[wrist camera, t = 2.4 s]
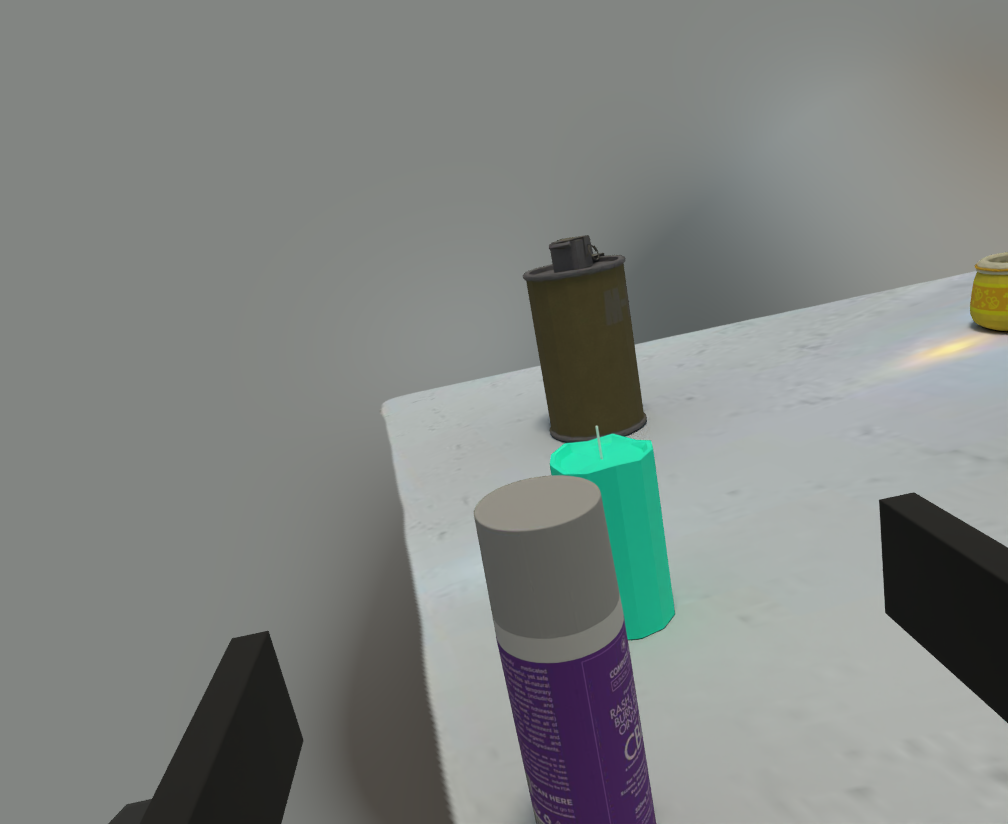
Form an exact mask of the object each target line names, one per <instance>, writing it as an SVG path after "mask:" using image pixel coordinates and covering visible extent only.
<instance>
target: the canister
mask: <svg viewBox="0 0 1008 824" xmlns="http://www.w3.org/2000/svg"><path fill="white" fill-rule="evenodd" d="M591 246H592V245H591V243H590V238H589V236H588V235H585V236H579V237H572V238H566V239H560V240H557V241H556V242H553V243H551V244H550V245H549V249H550V251H551V257H552V263H553V264H552V265H547V266H543V267H539V268H536V269H533V270H530V271H528V272H525V273H524V275H523V278H524V279H525V280H526V281H527V288H528V294H529V300H530V305H531V311H532V317H533V323H534V329H535V335H536V340H537V346H538V352H539V358H540V363H541V370H542V376H543V382H544V387H545V393H546V399H547V405H548V411H549V417H550V423H551V428H550V433H551V435H552V437H554V438H556V439H558V440H560V441H565V442H572V443H573V442H583V441H589V440H593V439H596V438H597V433H596V427H595V426H598V430H599V436H600V437H603V436H606V435H609V434H616V435H620V436H626V435H628V434H630V433H632V432H634V431H636V430H638V429H640V428H641V427H642V426H643V425H644V424H645V423H646V420H647V417H646V414H645V413H644V412H643V405H642V398H641V390H640V383H639V375H638V368H637V361H636V353H635V346H634V338H633V331H632V324H631V316H630V309H629V301H628V294H627V286H626V280H625V272H624V264H623V263H624V262H625V257H624V256H622V255H607V256H604V253H598V250H597V249H596V247H595V246H592V247H593V248H594V249H595V251H597V254H593V252H592V247H591Z"/></svg>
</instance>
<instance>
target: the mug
mask: <svg viewBox="0 0 1008 824" xmlns="http://www.w3.org/2000/svg"><path fill="white" fill-rule="evenodd" d="M975 268H976V271H977V273H976V276H975V279H974V282H973V288H972V295H971V302H970V314H971V316H972V319H973V321H974V322H975V323H977V324H978V325H980V326H982V327H985V328H988V329H994V330H999V331H1008V252H1005V253H999V254H994V255H991V256H987V257H985V258H983V259H981V260H980V261H979V262H978V263H977V264H976V265H975Z"/></svg>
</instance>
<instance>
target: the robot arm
mask: <svg viewBox="0 0 1008 824" xmlns="http://www.w3.org/2000/svg"><path fill="white" fill-rule="evenodd" d="M879 505H880V523H881V542H882V560H883V578H884V597H885V613H886V614H887V615H888V616H889V617H890V618H892V619H893V620H894V621H895V622H896V623H897V624H898V625H899V626H900V627H902V628H903V629H904V630H905V631H906V632H907V633H908V634H909V635H911V636H912V637H913V638H914V639H915V640H916V641H917V642H918V643H919V644H921V645H922V646H923V647H924V648H925V649H926V650H927V651H928V652H929V653H931V654H932V655H933V656H934V657H935V658H936V659H937V660H938V661H939V662H941V663H942V664H943V665H944V666H945V667H946V668H947V669H948V670H949V671H951V672H952V673H953V674H954V675H955V676H956V677H957V678H958V679H959V680H961V681H962V682H963V683H964V684H965V685H966V686H967V687H968V688H969V689H971V690H972V691H973V692H974V693H975V694H976V695H977V696H978V697H979V698H981V699H982V700H983V701H984V702H985V703H986V704H987V705H988V706H989V707H991V708H992V709H993V710H994V711H995V712H996V713H997V714H998V715H999V716H1001V717H1002V718H1003V719H1004V720H1005V721H1006V722H1007V723H1008V548H1007V547H1006V546H1004V545H1002V544H1001V543H999V542H997V541H996V540H994V539H992V538H990V537H989V536H987V535H985V534H984V533H982V532H980V531H979V530H977V529H975V528H973V527H972V526H970V525H968V524H967V523H965V522H963V521H962V520H960V519H958V518H957V517H955V516H953V515H951V514H950V513H948V512H946V511H945V510H943V509H941V508H940V507H938V506H936V505H934V504H933V503H931V502H929V501H928V500H926V499H924V498H923V497H921V496H919V495H917V494H916V493H909V494H904V495H900V496H895V497H890V498H886V499H881V500H879ZM302 744H303V738H302V734H301V731H300V728H299V725H298V722H297V719H296V715H295V712H294V709H293V706H292V703H291V700H290V697H289V694H288V691H287V687H286V684H285V681H284V678H283V675H282V672H281V669H280V665H279V662H278V659H277V656H276V653H275V650H274V647H273V644H272V640H271V638H270V634H269V631H265V632H260V633H256V634H251V635H247V636H242V637H237V638H232V640H231V641H230V643H229V645H228V648H227V649H226V651H225V654H224V655H223V657H222V659H221V661H220V663H219V666H218V667H217V669H216V671H215V673H214V675H213V678H212V680H211V681H210V683H209V686H208V688H207V690H206V692H205V694H204V696H203V698H202V700H201V702H200V704H199V706H198V708H197V710H196V712H195V714H194V716H193V718H192V720H191V722H190V724H189V726H188V728H187V730H186V732H185V734H184V736H183V738H182V740H181V742H180V744H179V746H178V748H177V750H176V752H175V754H174V756H173V758H172V760H171V762H170V764H169V766H168V768H167V770H166V772H165V774H164V776H163V778H162V780H161V782H160V784H159V786H158V788H157V790H156V792H155V794H154V796H153V798H152V799H150V800H146V801H141V802H136V803H131V804H127V805H126V806H125V807H124V808H123V809H122V810H121V811H120V812H119V813H118V814H117V815H116V816H115V817H114V818H113V820H111V822H110V823H109V824H281V822H282V819H283V815H284V811H285V807H286V804H287V800H288V796H289V792H290V789H291V784H292V781H293V777H294V773H295V770H296V766H297V762H298V759H299V755H300V751H301V747H302Z"/></svg>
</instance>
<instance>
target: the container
mask: <svg viewBox="0 0 1008 824" xmlns="http://www.w3.org/2000/svg"><path fill="white" fill-rule="evenodd" d="M474 517H475V523H476V528H477V534H478V539H479V545H480V550H481V555H482V561H483V566H484V572H485V577H486V583H487V588H488V594H489V599H490V605H491V610H492V615H493V621H494V627H495V632H496V639H497V643H498V648H499V653H500V657H501V662H502V666H503V671H504V676H505V680H506V685H507V690H508V694H509V699H510V704H511V708H512V713H513V718H514V722H515V727H516V731H517V736H518V741H519V745H520V750H521V755H522V759H523V764H524V769H525V773H526V778H527V782H528V787H529V792H530V796H531V801H532V806H533V810H534V815H535V820H536V824H656V820H655V813H654V807H653V800H652V794H651V787H650V781H649V774H648V768H647V761H646V755H645V748H644V742H643V736H642V729H641V723H640V716H639V710H638V703H637V697H636V690H635V684H634V677H633V671H632V664H631V658H630V652H629V645H628V639H627V632H626V626H625V619H624V614H623V609H622V604H621V598H620V593H619V588H618V583H617V577H616V572H615V567H614V561H613V556H612V550H611V545H610V540H609V534H608V529H607V524H606V518H605V513H604V508H603V502H602V497H601V492H600V489H599V488H598V486H597V485H596V484H594V483H593V482H591V481H589V480H586V479H583V478H580V477H574V476H564V475H553V476H542V477H535V478H529V479H525V480H521V481H517V482H514V483H511V484H508V485H505V486H503V487H501V488H498V489H496V490H495V491H493V492H491V493H489V494H488V495H486V496H485V497H484V498H483V499H482V500H481V501H479V503H478V504H477V506H476V507H475V510H474Z"/></svg>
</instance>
